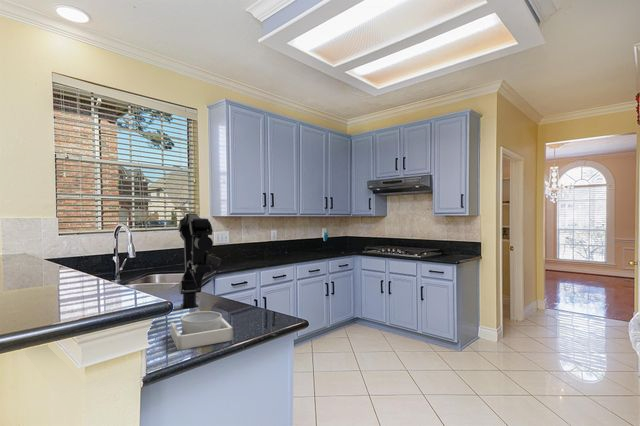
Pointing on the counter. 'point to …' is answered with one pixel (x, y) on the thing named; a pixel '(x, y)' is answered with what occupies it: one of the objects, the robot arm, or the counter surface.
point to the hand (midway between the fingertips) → (198, 287)
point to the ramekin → (200, 322)
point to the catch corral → (202, 336)
